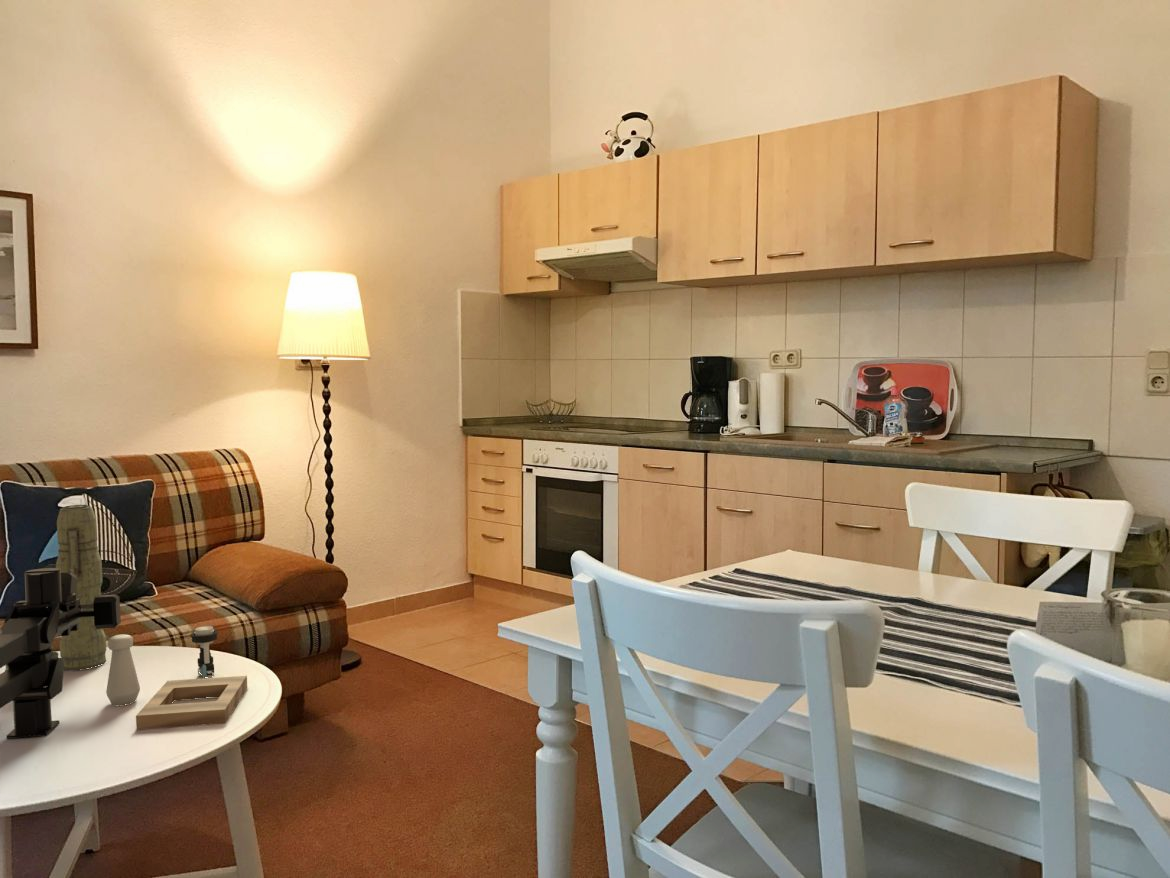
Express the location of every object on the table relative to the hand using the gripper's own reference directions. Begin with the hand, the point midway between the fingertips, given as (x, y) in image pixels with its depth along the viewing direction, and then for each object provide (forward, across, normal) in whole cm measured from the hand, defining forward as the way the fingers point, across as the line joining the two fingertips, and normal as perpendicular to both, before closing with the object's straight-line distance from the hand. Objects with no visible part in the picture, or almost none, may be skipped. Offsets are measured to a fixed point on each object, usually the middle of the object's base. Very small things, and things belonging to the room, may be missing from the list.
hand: (83, 606), depth 191 cm
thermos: (+17, +7, +16) cm, 24 cm away
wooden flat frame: (-17, -25, +18) cm, 35 cm away
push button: (+3, -22, +17) cm, 28 cm away
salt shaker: (-12, -10, +17) cm, 23 cm away
